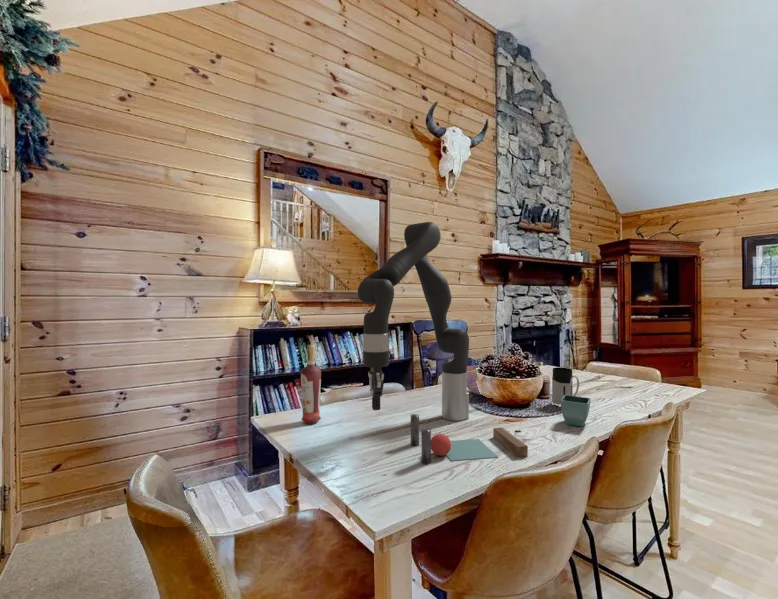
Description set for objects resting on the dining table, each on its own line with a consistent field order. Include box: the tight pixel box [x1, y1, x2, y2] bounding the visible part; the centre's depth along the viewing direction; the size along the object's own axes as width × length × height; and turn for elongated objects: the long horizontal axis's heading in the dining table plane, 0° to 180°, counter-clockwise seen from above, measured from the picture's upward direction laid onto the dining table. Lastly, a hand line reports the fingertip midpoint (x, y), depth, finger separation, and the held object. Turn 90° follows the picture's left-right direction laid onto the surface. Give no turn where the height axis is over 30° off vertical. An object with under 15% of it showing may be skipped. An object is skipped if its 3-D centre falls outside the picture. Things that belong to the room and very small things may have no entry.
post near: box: [421, 428, 432, 465], centre depth 109 cm, size 3×3×9 cm
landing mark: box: [445, 438, 499, 462], centre depth 118 cm, size 14×14×1 cm
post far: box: [410, 413, 420, 447], centre depth 122 cm, size 3×3×9 cm
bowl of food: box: [467, 365, 480, 396], centre depth 182 cm, size 20×20×12 cm
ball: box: [431, 433, 451, 457], centre depth 114 cm, size 6×6×6 cm
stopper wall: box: [492, 427, 529, 458], centre depth 120 cm, size 3×16×3 cm, turn 10°
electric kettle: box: [551, 366, 580, 404], centre depth 162 cm, size 9×14×15 cm, turn 12°
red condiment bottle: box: [300, 344, 322, 425], centre depth 143 cm, size 7×7×28 cm
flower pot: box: [560, 395, 591, 427], centre depth 141 cm, size 9×9×9 cm
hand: (376, 409), depth 113 cm, fingers closed
